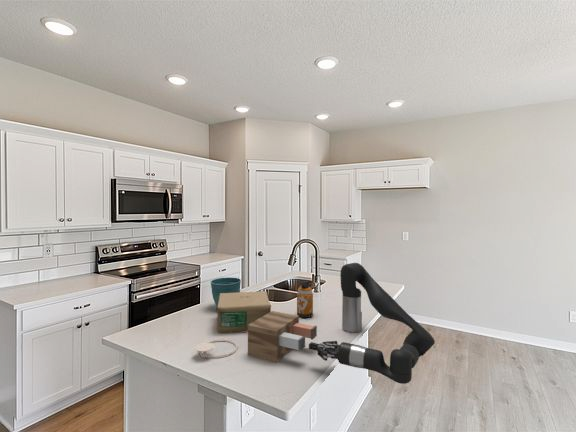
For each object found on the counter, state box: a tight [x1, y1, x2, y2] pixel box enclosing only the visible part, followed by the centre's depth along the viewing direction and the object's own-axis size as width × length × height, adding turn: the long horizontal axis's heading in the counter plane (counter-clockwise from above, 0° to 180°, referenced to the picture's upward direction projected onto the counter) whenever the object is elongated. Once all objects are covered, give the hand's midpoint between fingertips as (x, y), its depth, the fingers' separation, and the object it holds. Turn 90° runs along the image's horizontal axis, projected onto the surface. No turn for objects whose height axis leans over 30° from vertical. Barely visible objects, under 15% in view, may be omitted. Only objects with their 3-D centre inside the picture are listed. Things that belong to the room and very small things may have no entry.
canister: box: [296, 279, 314, 319], centre depth 179 cm, size 9×11×20 cm
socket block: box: [247, 310, 300, 363], centre depth 138 cm, size 20×14×12 cm
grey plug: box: [279, 332, 306, 352], centre depth 128 cm, size 4×16×4 cm, turn 62°
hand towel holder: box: [193, 338, 239, 359], centre depth 136 cm, size 17×4×21 cm
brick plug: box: [292, 322, 318, 340], centre depth 139 cm, size 4×16×4 cm, turn 62°
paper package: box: [216, 290, 272, 334], centre depth 168 cm, size 27×26×14 cm
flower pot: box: [210, 276, 242, 310], centre depth 191 cm, size 18×18×17 cm
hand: (309, 345), depth 123 cm, fingers closed
